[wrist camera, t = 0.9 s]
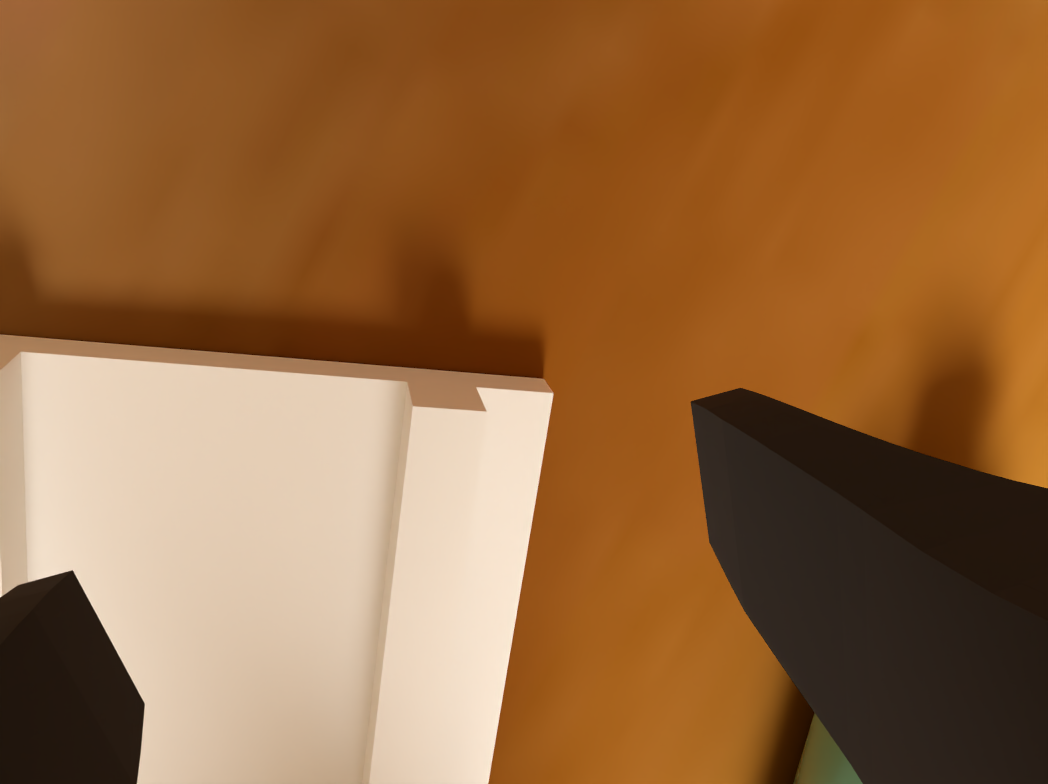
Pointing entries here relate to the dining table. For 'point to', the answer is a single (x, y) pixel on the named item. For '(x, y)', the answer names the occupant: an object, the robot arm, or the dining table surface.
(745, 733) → the dining table surface
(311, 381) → the bottle cradle
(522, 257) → the dining table surface
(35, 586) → the robot arm
